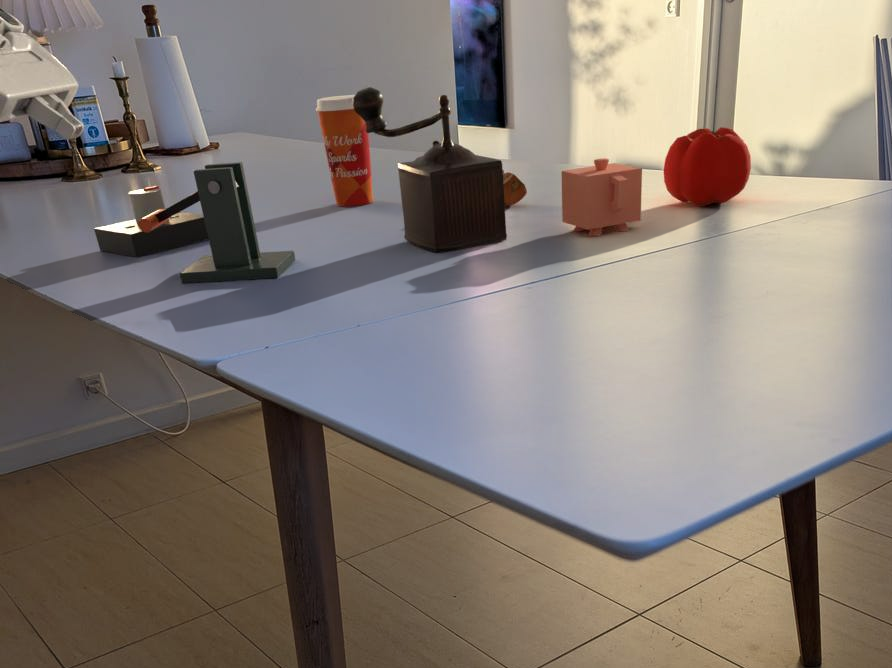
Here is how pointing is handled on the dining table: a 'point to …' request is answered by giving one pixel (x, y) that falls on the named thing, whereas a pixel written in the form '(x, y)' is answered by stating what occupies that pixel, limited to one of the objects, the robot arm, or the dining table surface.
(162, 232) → the dial panel
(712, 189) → the tomato
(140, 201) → the knob
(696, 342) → the dining table surface
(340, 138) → the coffee cup
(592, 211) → the pink cube teapot
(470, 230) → the brown coffee grinder
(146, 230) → the lever
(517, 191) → the bread roll
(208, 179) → the switch bracket
